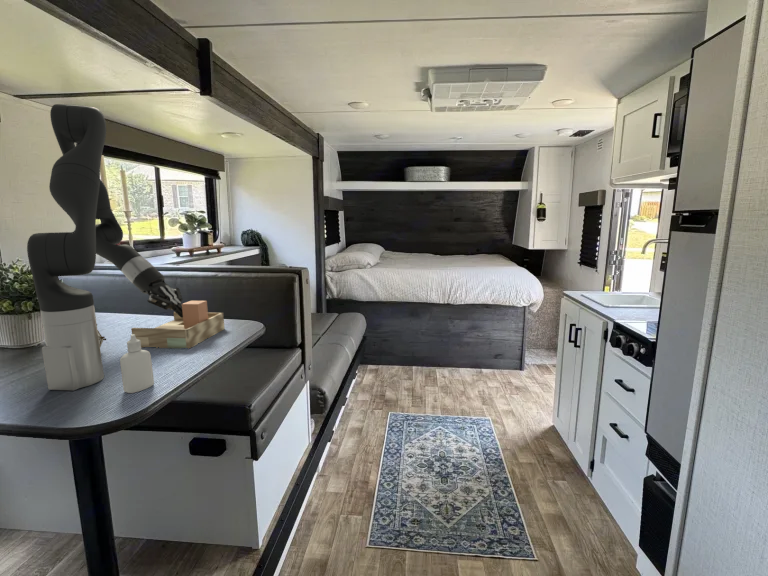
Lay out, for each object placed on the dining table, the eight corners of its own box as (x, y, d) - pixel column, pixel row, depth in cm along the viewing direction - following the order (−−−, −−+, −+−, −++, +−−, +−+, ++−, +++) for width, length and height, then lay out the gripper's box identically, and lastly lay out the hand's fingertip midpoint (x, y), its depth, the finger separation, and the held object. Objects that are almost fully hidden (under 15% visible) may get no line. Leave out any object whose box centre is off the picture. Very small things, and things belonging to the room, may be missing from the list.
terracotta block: (200, 330, 119) (197, 304, 118) (184, 330, 120) (181, 304, 119) (209, 325, 124) (206, 300, 123) (193, 325, 125) (191, 300, 123)
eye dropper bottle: (124, 387, 87) (117, 334, 85) (154, 382, 90) (147, 330, 87) (123, 395, 83) (116, 339, 81) (154, 389, 86) (148, 335, 84)
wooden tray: (189, 348, 112) (187, 329, 111) (133, 347, 114) (131, 328, 113) (224, 329, 132) (223, 312, 131) (176, 327, 134) (174, 311, 133)
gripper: (134, 269, 113) (179, 311, 114) (164, 263, 126) (204, 302, 127) (119, 287, 115) (164, 329, 116) (150, 280, 128) (190, 318, 129)
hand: (185, 315), depth 121 cm, fingers closed
